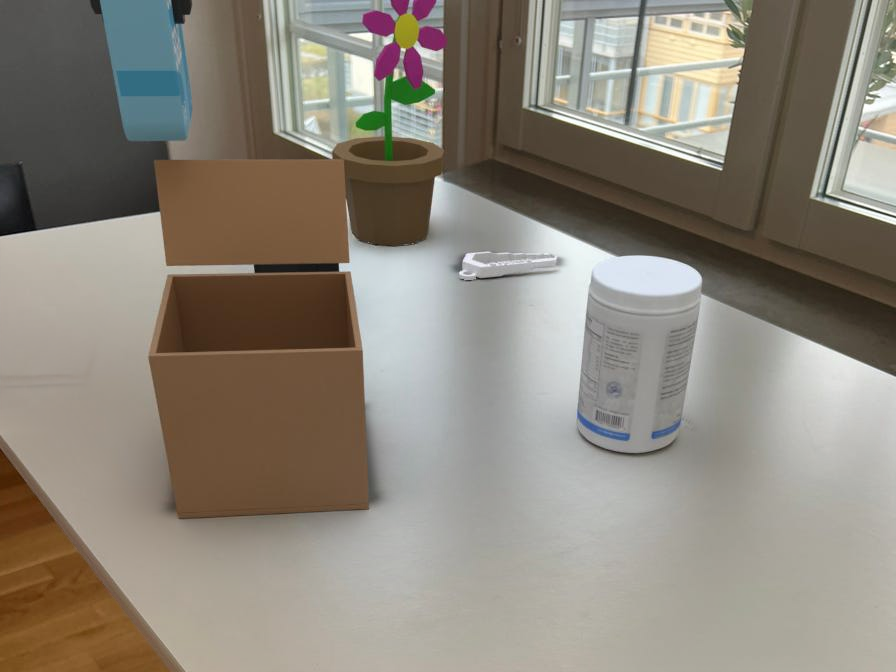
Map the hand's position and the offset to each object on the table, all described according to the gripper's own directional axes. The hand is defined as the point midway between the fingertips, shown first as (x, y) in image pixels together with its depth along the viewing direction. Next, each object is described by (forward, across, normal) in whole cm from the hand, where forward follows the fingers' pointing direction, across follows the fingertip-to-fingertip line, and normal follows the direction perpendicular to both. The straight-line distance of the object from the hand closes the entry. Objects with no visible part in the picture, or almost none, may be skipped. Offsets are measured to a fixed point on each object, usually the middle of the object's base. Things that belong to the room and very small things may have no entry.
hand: (144, 20), depth 75 cm
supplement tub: (+31, -39, +12) cm, 51 cm away
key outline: (+31, -35, -31) cm, 56 cm away
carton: (+31, -7, +14) cm, 34 cm away
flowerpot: (+31, -22, -45) cm, 59 cm away
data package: (+8, 0, 0) cm, 8 cm away
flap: (+13, -7, +5) cm, 15 cm away
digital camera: (+31, -10, -24) cm, 40 cm away
